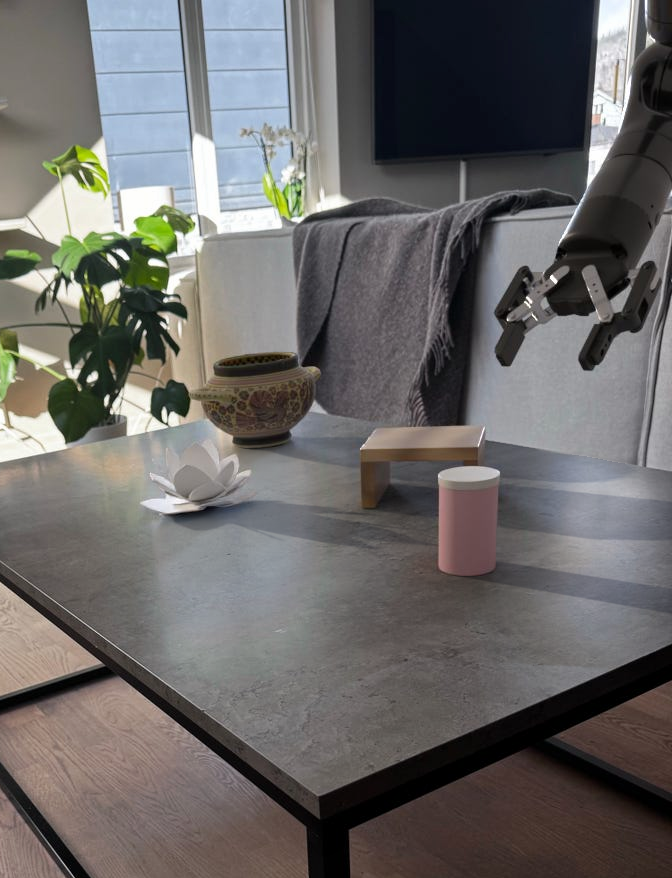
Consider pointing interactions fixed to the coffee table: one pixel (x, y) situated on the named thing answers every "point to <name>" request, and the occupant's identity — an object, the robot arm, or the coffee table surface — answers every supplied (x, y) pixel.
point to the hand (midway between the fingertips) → (541, 363)
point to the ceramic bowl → (258, 397)
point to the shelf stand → (415, 452)
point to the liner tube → (468, 520)
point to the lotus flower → (199, 481)
